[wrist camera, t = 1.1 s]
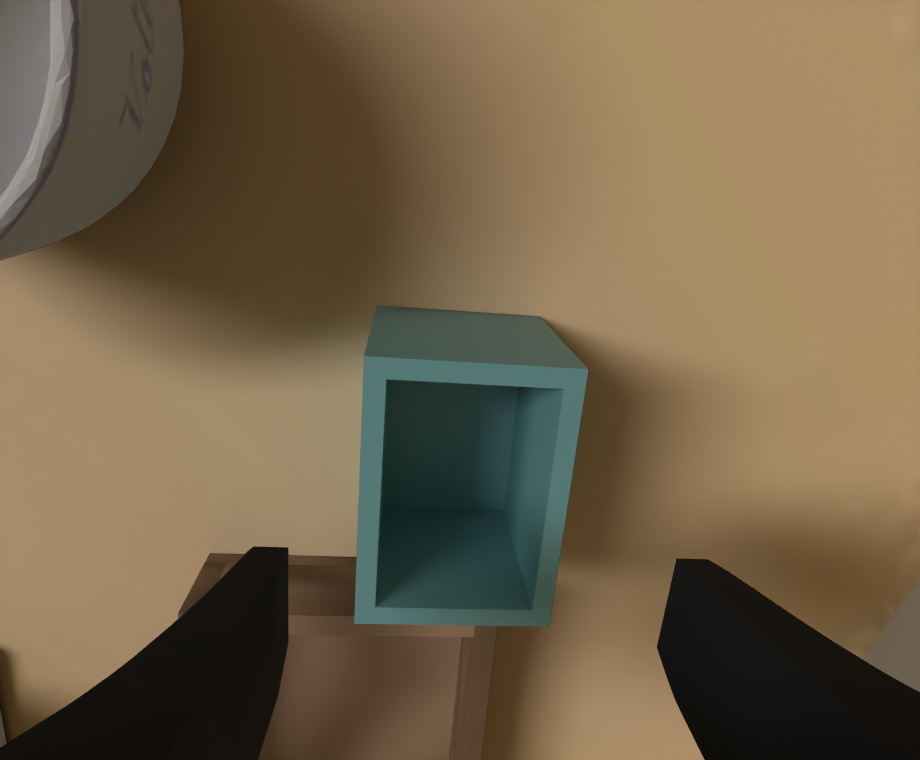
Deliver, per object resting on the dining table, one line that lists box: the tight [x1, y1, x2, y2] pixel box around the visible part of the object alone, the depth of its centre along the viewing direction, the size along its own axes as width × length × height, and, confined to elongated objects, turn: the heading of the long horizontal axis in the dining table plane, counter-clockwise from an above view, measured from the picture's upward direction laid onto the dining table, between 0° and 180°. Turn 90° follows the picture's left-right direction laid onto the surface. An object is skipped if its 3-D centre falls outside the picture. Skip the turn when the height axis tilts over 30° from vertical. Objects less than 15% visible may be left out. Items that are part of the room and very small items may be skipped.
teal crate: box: [354, 306, 589, 627], centre depth 17 cm, size 5×7×6 cm
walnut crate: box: [178, 554, 497, 760], centre depth 22 cm, size 9×11×3 cm
